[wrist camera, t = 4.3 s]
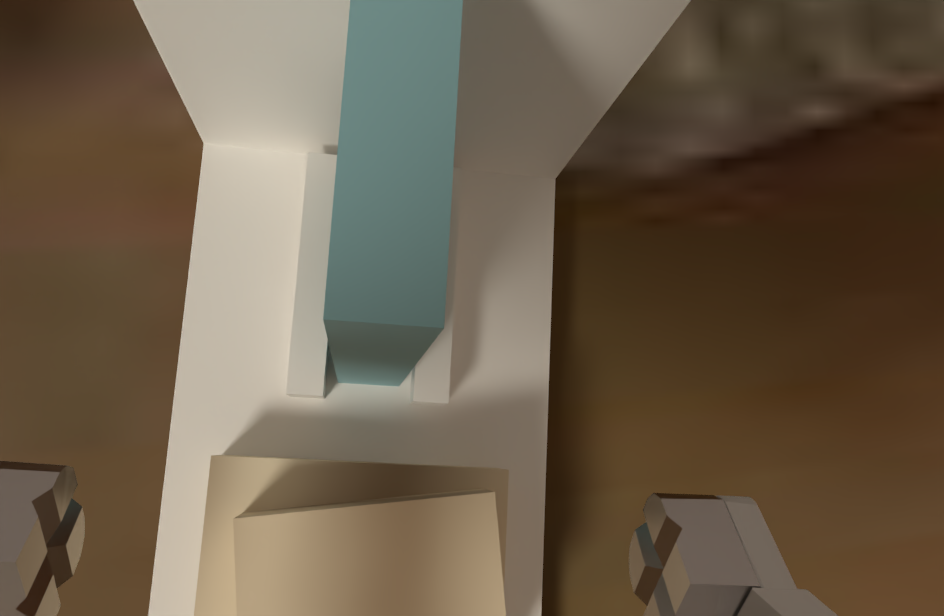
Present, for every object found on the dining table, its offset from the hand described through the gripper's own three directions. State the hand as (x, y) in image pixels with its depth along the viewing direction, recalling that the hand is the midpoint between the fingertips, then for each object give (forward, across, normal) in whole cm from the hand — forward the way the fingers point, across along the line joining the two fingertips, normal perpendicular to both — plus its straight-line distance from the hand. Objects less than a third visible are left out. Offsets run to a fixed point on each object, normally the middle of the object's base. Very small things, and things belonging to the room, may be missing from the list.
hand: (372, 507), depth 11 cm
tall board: (+12, 0, +4) cm, 13 cm away
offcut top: (+5, 0, +9) cm, 11 cm away
